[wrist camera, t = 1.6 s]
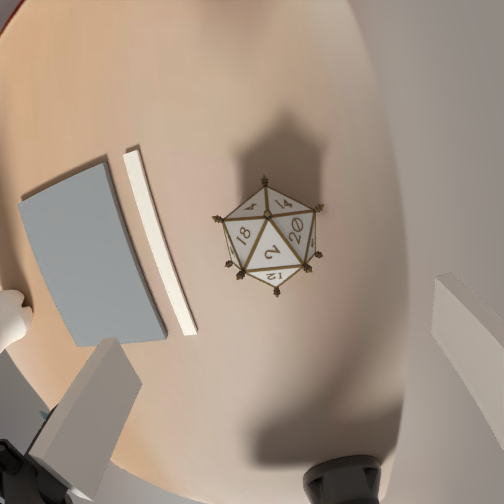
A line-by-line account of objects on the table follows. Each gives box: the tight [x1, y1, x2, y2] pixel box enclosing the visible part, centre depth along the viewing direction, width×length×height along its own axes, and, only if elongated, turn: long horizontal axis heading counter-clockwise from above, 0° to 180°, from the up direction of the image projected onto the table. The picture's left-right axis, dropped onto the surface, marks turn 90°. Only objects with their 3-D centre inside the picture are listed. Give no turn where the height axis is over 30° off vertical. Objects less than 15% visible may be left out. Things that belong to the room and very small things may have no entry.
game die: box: [212, 175, 325, 298], centre depth 24 cm, size 9×8×10 cm
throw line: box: [123, 150, 198, 336], centre depth 29 cm, size 20×2×1 cm, turn 14°
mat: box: [18, 162, 168, 347], centre depth 30 cm, size 20×14×1 cm
